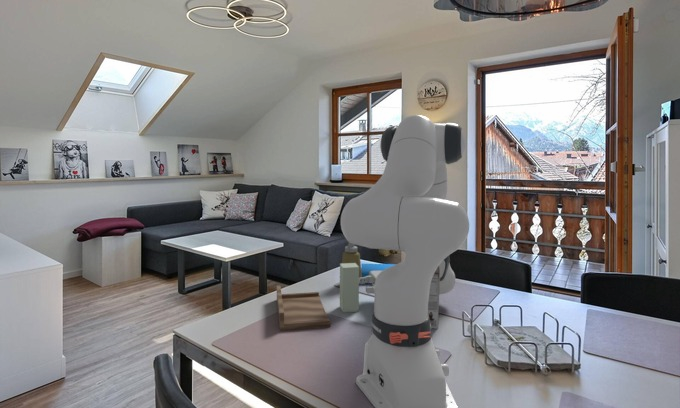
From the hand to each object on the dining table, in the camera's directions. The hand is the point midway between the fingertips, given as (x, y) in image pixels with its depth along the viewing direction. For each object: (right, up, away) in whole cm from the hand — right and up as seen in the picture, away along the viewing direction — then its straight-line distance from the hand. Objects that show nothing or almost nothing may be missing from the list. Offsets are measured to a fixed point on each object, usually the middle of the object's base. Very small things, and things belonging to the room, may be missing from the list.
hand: (362, 285), depth 126 cm
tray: (-19, -8, -3) cm, 21 cm away
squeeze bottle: (-3, -5, +25) cm, 25 cm away
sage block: (-4, -7, 0) cm, 9 cm away
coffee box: (+18, -9, -10) cm, 22 cm away
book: (+14, -5, +33) cm, 36 cm away
